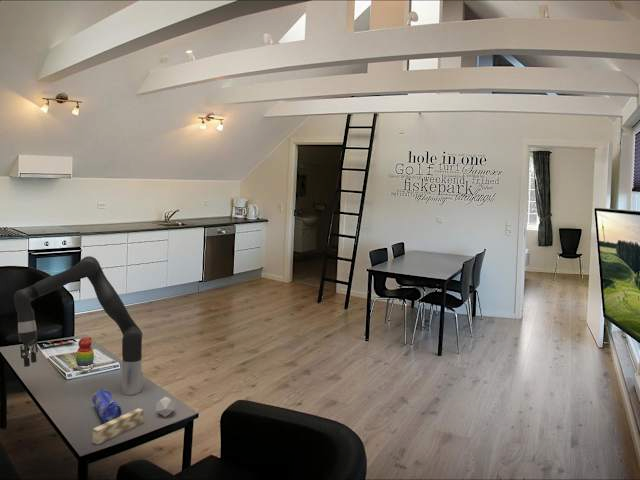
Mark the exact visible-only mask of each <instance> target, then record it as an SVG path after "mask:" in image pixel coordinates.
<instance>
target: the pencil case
mask: <svg viewBox="0 0 640 480" xmlns="http://www.w3.org/2000/svg"><path fill="white" fill-rule="evenodd" d="M91 401H92V403H93V404H94V405H93V406H94V407H95V409H96V410H97V412H98V414H99V417H100V419H101V420H102V421H103V424H105V423H107V422H109V421H111V420H113V419H116V418H118V417H120V416H122V412H123V410H122V406H120V405H119V404H118V403H117V401H115V400H114V399H113V397H112V393H111V391H110V390H108V389H100V390H98V391H95V392H94V393H93V395H92V397H91Z"/></svg>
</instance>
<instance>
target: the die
mask: <svg viewBox="0 0 640 480" xmlns="http://www.w3.org/2000/svg"><path fill="white" fill-rule="evenodd" d="M155 407H156V408H155V411H156V413H158V414H160V415H161V416H162V417H166V418H167V417H168V415H170V414H172V413H173V412H174V411H175V401H174V400H172V399H171V398H170V397H167V396H164V397H163V398H162V399H160V400H158V401H157V402H156V403H155Z"/></svg>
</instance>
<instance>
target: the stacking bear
mask: <svg viewBox="0 0 640 480" xmlns="http://www.w3.org/2000/svg"><path fill="white" fill-rule="evenodd" d="M92 344H93V343H92V337H91V336H89V337H82V338H80V339H79V341H78V349H77V351H76V354H75V362H76V364H77V365H78V366H88V365H91V364H94V359H95V353H94V349H93V347H92Z"/></svg>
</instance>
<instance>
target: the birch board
mask: <svg viewBox="0 0 640 480" xmlns="http://www.w3.org/2000/svg"><path fill="white" fill-rule="evenodd" d="M143 423H144V409H143V408H140V407H138V408H136V409H133V410H131V411H129V412H127V413H125V414H124V413H123V415H122V414H121V416H120V417H118V418H116V419H113V420H111V421H109V422H107V423H103V424H100V425H97V426H96V427H93V428H92V443H93V444H95V445H99V444H101V443H104V442H106V441H107V440H110V439H112V438H114V437H116V436H118V435H120V434H122V433H124V432H127V431H129V430H130V429H133V428H134V427H137V426H139V425H140V424H143Z"/></svg>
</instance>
